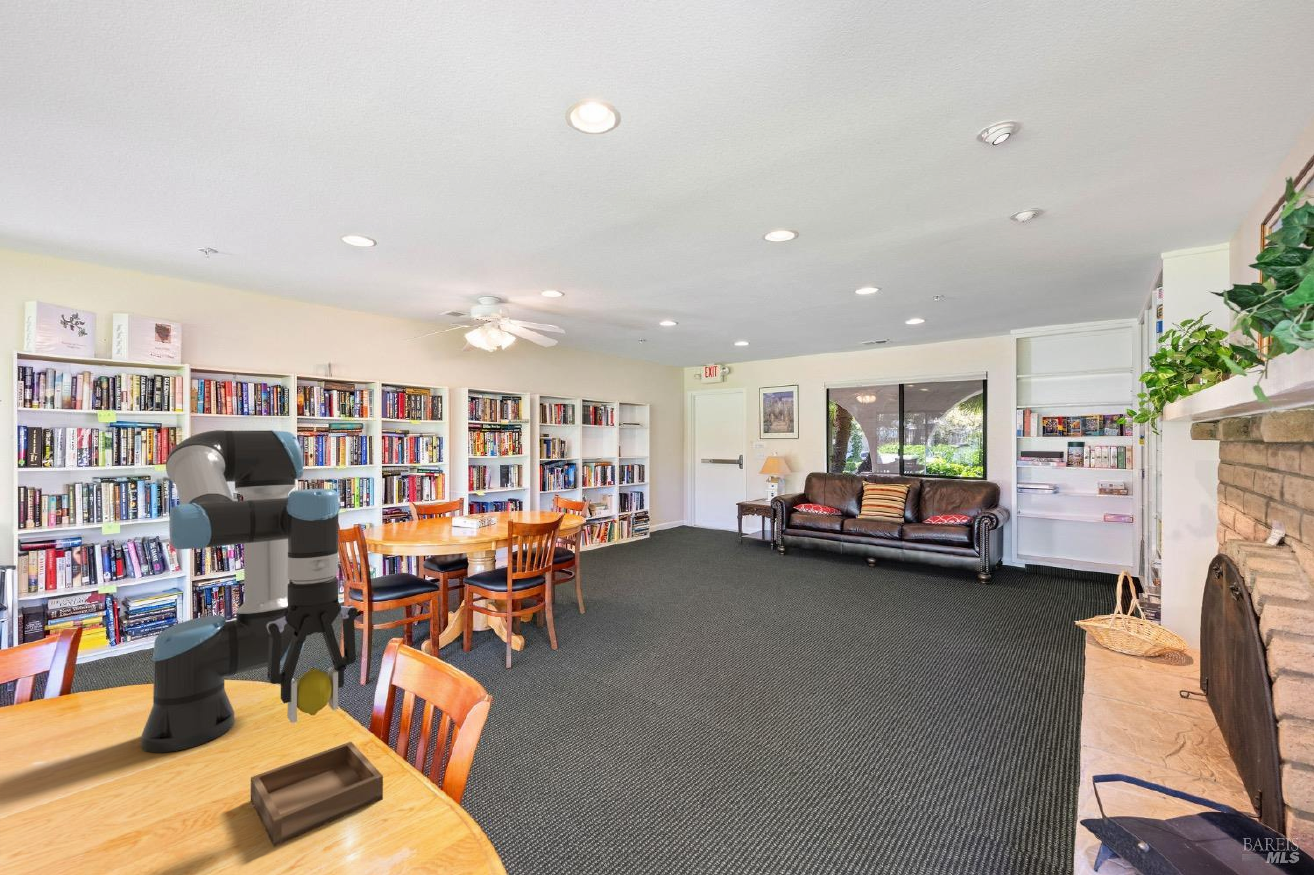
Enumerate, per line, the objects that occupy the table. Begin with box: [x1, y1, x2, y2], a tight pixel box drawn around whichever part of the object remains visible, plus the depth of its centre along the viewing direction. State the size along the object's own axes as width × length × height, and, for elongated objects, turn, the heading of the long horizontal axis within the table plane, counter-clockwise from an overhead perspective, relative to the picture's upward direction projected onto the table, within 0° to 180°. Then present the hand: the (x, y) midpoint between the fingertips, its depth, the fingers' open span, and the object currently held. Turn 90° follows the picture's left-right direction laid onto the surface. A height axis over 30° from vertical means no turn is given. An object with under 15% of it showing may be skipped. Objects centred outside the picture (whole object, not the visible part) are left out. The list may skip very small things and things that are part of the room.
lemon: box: [296, 667, 332, 716], centre depth 97 cm, size 6×6×8 cm
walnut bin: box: [250, 741, 384, 848], centre depth 97 cm, size 16×16×4 cm
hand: (313, 712), depth 97 cm, fingers closed on lemon, 5 cm apart
